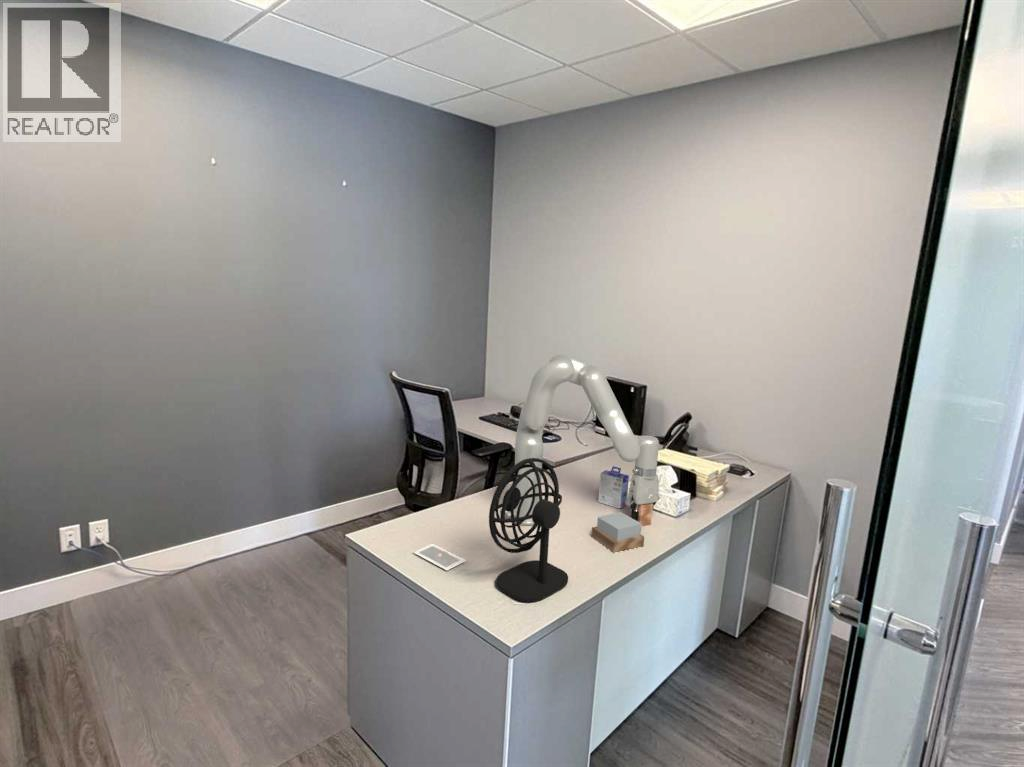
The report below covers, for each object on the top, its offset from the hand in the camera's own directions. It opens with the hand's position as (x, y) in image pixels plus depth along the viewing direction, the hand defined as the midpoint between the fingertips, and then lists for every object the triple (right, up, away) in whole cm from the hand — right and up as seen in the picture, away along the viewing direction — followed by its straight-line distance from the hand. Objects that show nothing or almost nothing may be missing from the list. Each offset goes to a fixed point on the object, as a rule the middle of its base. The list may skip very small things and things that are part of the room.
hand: (640, 519), depth 192 cm
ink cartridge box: (-7, +2, +17) cm, 18 cm away
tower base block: (-11, -4, -15) cm, 19 cm away
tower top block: (-11, 0, -16) cm, 19 cm away
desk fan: (-41, -7, -41) cm, 58 cm away
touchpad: (-68, -5, -30) cm, 75 cm away
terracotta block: (0, -1, 0) cm, 2 cm away
